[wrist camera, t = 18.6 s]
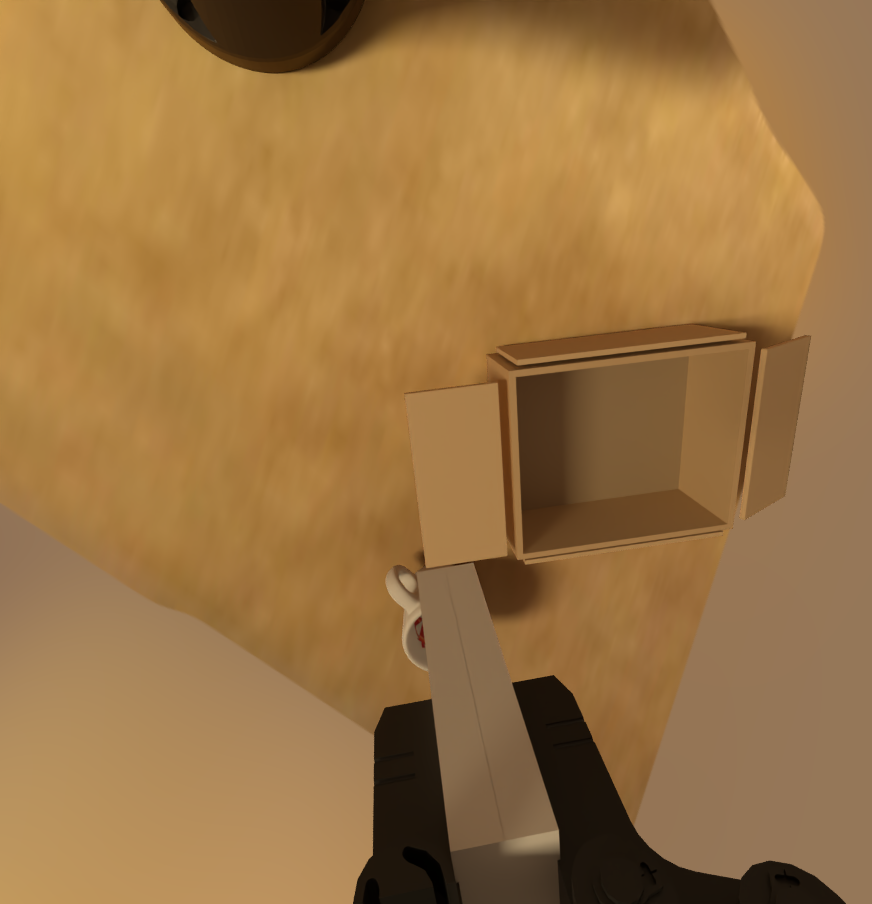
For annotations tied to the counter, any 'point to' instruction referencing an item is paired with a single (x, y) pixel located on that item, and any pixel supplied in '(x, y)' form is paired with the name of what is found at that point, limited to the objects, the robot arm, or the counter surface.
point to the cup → (410, 611)
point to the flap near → (458, 472)
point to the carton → (621, 438)
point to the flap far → (773, 423)
